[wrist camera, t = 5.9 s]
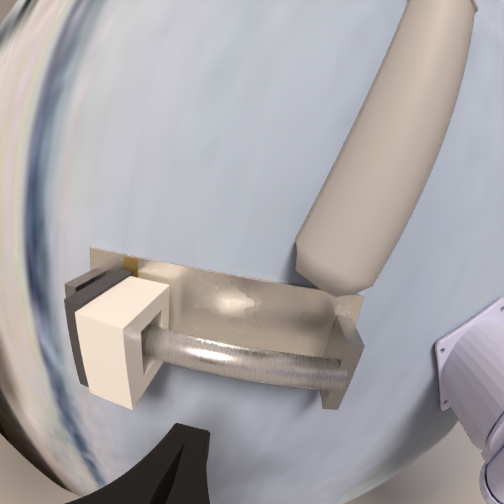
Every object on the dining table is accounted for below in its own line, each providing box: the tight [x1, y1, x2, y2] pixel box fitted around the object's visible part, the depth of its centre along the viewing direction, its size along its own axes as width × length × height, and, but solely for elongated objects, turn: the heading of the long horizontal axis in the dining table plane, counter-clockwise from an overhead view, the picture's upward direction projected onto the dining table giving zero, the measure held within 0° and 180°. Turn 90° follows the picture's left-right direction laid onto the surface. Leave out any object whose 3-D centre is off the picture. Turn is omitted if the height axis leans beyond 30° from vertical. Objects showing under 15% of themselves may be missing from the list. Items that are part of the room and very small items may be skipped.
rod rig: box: [65, 247, 364, 410], centre depth 16 cm, size 20×8×5 cm, turn 82°
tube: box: [295, 0, 478, 297], centre depth 12 cm, size 5×5×25 cm
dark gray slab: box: [64, 269, 132, 387], centre depth 16 cm, size 1×6×6 cm, turn 172°
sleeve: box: [75, 276, 170, 410], centre depth 15 cm, size 3×6×6 cm, turn 172°
